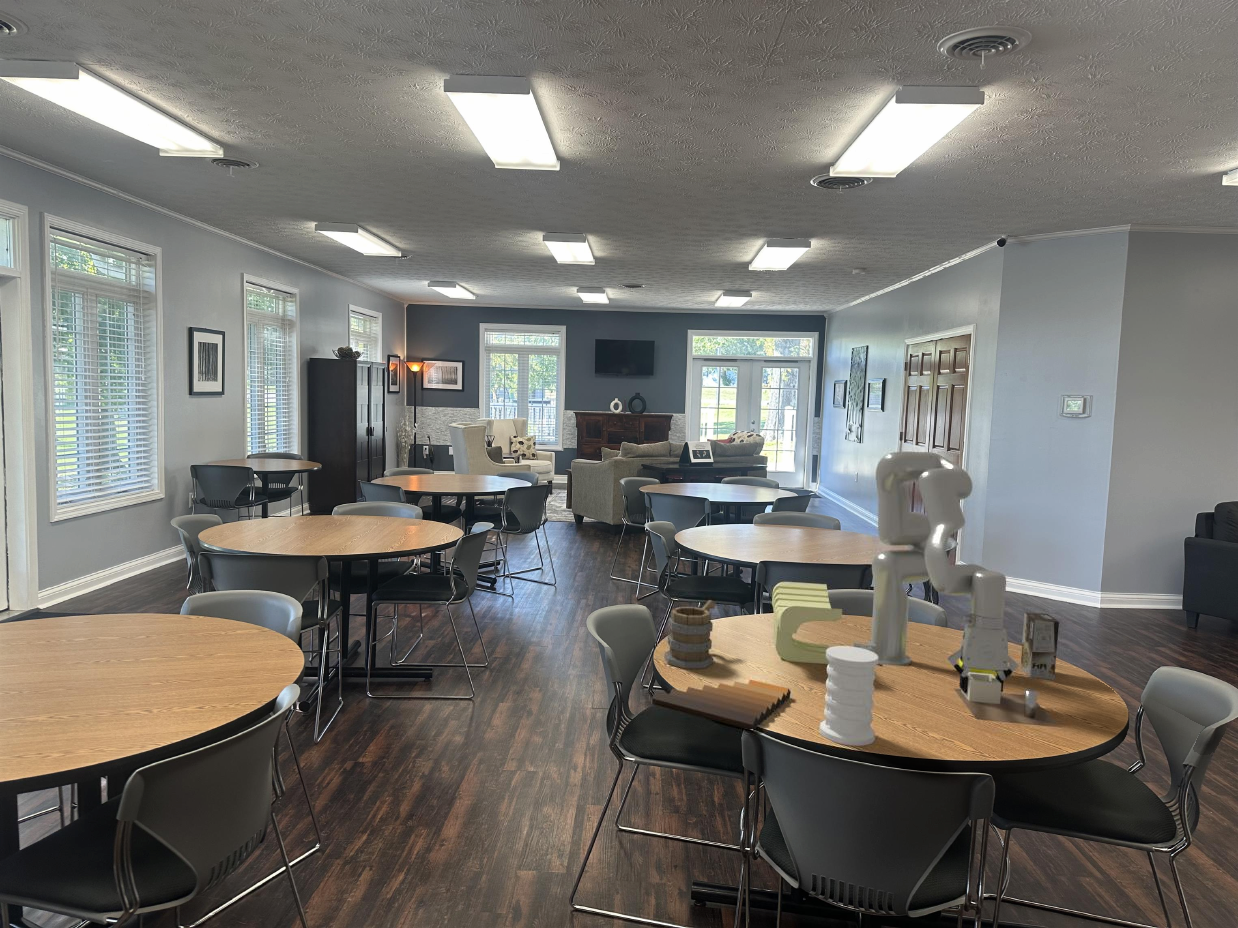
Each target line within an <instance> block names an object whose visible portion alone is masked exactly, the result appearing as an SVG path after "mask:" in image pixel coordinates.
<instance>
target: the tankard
mask: <svg viewBox="0 0 1238 928" xmlns="http://www.w3.org/2000/svg"><path fill="white" fill-rule="evenodd" d="M716 604H717V603H716V602H714V601H713V600H711V599H708V601H707V602H706V603H705V604H704V605H703V606H702V607H697V606H695V607H694V606H679V607H675V608H673V609H671V614H670V617H669V618H668V627H669V629H670V631H669V632H670V633H669V634H668V635H667V644H668V646H669V650H668V651H665V652H664V659H665V661H666V662H667V665H670V666H673V667H676V668H681V669H683V670H685V669H686V670H688V669H692V670H693V669H694V670H695V669H697V670H698V669H699V670H701V669H705V668H708V667H709V666H711V665H713V664H714V660H715V659H714V657H713V656H712V655H711V654H710V650H712V642H713V641H712V639H711V632H713V625H714V624H713V622H712V620H711V616H712V615H711V613H710V610H711V609H713V610H714V609H715V607H716Z"/></svg>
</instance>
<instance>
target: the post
mask: <svg viewBox="0 0 1238 928" xmlns="http://www.w3.org/2000/svg"><path fill="white" fill-rule="evenodd" d="M1024 695H1025V704H1024V716H1025V717H1027V718H1035V715H1036V703H1038V691H1037V690H1035V689H1029V688H1027V689H1025V694H1024Z"/></svg>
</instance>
